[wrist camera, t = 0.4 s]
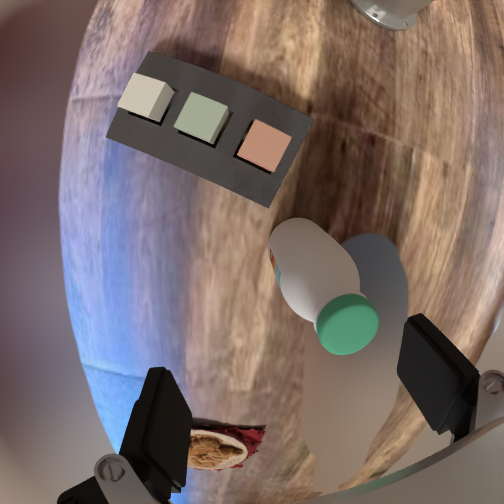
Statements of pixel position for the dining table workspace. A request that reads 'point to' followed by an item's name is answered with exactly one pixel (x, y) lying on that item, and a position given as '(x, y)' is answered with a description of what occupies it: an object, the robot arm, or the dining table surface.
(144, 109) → the ivory key
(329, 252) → the milk bottle
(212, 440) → the plate with food
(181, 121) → the sage key
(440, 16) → the dining table surface
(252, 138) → the terracotta key
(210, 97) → the panel
